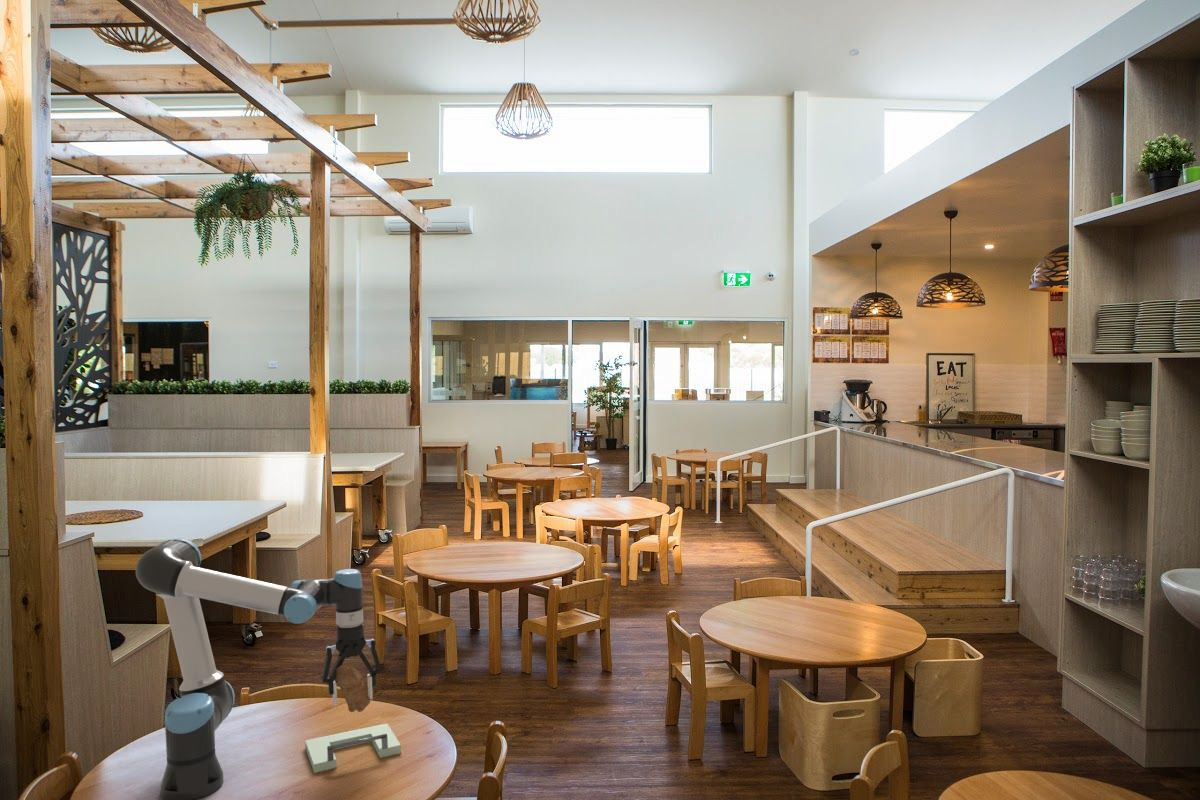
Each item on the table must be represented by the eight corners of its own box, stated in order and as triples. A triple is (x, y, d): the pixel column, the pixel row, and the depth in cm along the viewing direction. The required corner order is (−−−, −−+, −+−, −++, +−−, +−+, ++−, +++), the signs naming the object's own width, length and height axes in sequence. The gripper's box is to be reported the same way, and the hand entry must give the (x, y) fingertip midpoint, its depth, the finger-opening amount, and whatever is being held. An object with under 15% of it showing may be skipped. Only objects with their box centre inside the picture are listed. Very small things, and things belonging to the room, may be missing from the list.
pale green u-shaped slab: (314, 772, 231) (313, 764, 231) (305, 748, 246) (305, 740, 246) (401, 753, 242) (400, 744, 242) (387, 730, 257) (387, 723, 257)
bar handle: (328, 761, 232) (327, 747, 232) (327, 759, 234) (327, 745, 233) (387, 748, 240) (387, 734, 240) (386, 746, 241) (386, 732, 241)
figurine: (371, 706, 245) (370, 655, 245) (361, 718, 237) (359, 665, 236) (343, 705, 246) (342, 655, 245) (332, 717, 238) (330, 665, 237)
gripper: (311, 634, 232) (315, 713, 233) (391, 621, 242) (394, 697, 243) (308, 626, 239) (311, 704, 240) (385, 614, 249) (388, 689, 250)
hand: (352, 701), depth 242 cm, fingers closed on figurine, 9 cm apart
